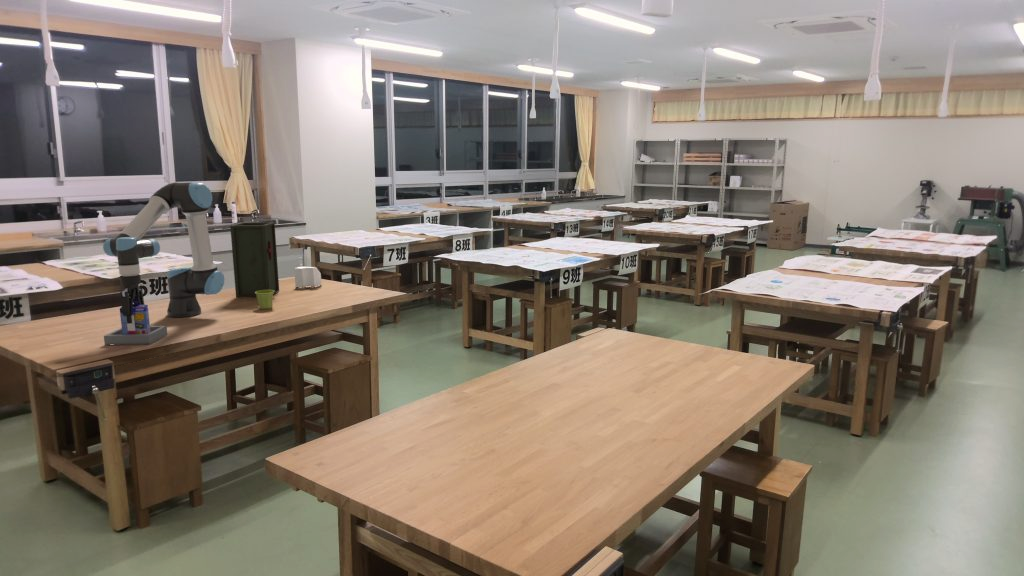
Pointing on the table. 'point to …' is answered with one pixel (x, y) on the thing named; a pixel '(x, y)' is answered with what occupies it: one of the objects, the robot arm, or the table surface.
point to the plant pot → (265, 298)
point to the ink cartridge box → (137, 320)
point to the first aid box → (254, 258)
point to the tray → (135, 337)
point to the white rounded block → (307, 276)
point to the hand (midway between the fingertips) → (135, 328)
